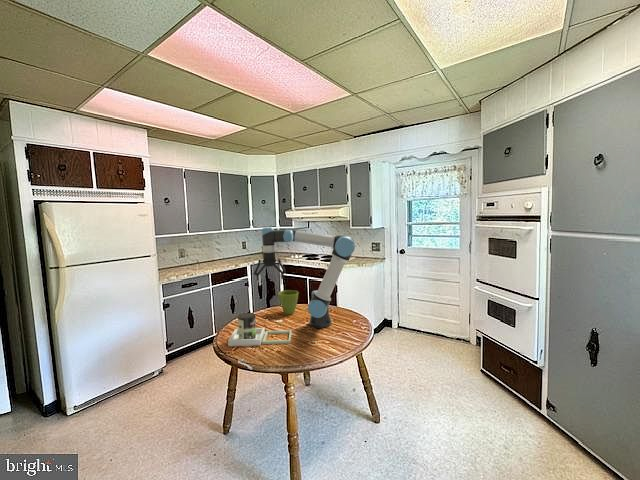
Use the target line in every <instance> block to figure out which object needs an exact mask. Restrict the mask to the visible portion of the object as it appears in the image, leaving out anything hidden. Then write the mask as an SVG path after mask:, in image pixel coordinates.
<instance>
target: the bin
mask: <svg viewBox="0 0 640 480" xmlns="http://www.w3.org/2000/svg"><path fill="white" fill-rule="evenodd" d="M265 333H266V331H265V327H256V339H239V335H238V328H235V329H234V331H233V332H232V333H231V335H230V337H229V338H228V340H227V343H228V344H227V347H257V346H261V345H262V341H263V338H264V336H265Z"/></svg>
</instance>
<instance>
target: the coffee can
mask: <svg viewBox="0 0 640 480" xmlns="http://www.w3.org/2000/svg"><path fill="white" fill-rule="evenodd" d="M237 326H238V327H237V329H238V335H239V339H256V328H257V327H256V314H255V313H253V312H250V313H249V312H245V313H241V314H238V315H237Z"/></svg>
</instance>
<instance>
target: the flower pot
mask: <svg viewBox="0 0 640 480" xmlns="http://www.w3.org/2000/svg"><path fill="white" fill-rule="evenodd" d="M278 297H279V302H280V305H281V308H282V312H283V314H285V315H293V314H295V312H296V308H297V304H298V300H299V291H298V290H295V289H293V290H291V289H287V290H281V291H279V292H278Z"/></svg>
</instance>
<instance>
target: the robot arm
mask: <svg viewBox="0 0 640 480" xmlns="http://www.w3.org/2000/svg"><path fill="white" fill-rule="evenodd" d="M261 239H262V252H263V253H262V257H263V259H258V262H257V265H256V268H255V270H254V272H253V275H255V276H256V279H257V281H258V286H261V285H262V281H261V279H262V278H261V273H262V271H263V270H264V269H265V268H267V267H274V268H275V269H276V270H277V271H278V272H279V273H280V276H279V277H280V278H279V279H280V285H283V280H284V274H286V272H287V271H286V269H285V267H284V265H283V263H282V262H281V258H278V259H276V252H275V251H276V249H275V248H276V246H275V243H291V242H296V243H301V244H307V245H315V246H321V247H325V248H326V247H328V248H331V249H332V251H331V255H332V257H331V260H330V261H329V265H328V267H327V269H326V271H325V274H324V276H323V278H322V280H321V282H320V284H319V287H318V289H316V290H313V291H311V298H310V300H309V303H308V305H307V310H308V314H309V315H310V316H309V317H310V318H309V321H308V323H309V326H310V327H313V328H318V329H319V328H320V329H324V327H325V328H328V326H329V327H331V326H332V324H331V323H332V317H331V316H330V303H331V301H332V297H331V295H332V293H333V291H334V289H335V286H336V284H337V282H338V279H339V277H340V276H341V272H342V270H343V268H344V266H345V264H346V263H347V262H349V261H350V259H351V257H352V254H353V253H354V252H355V249H356V242H355V241H354V238H352V237H351V236H349V235H347V234H346V235H339V234H338V235H337V234H334V235H328V234H321V233H314V232H308V231H301V230H294V229H291V228H287V229H283V230H275V228H274V227H263V228H262V229H261ZM276 262H277V263H278V264H279V266H280V267H279V266H278V265H277V264H276ZM262 263H263V266H262V267H261V268H260V265H261V264H262ZM259 268H260V270H259ZM258 270H259V271H258Z"/></svg>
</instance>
